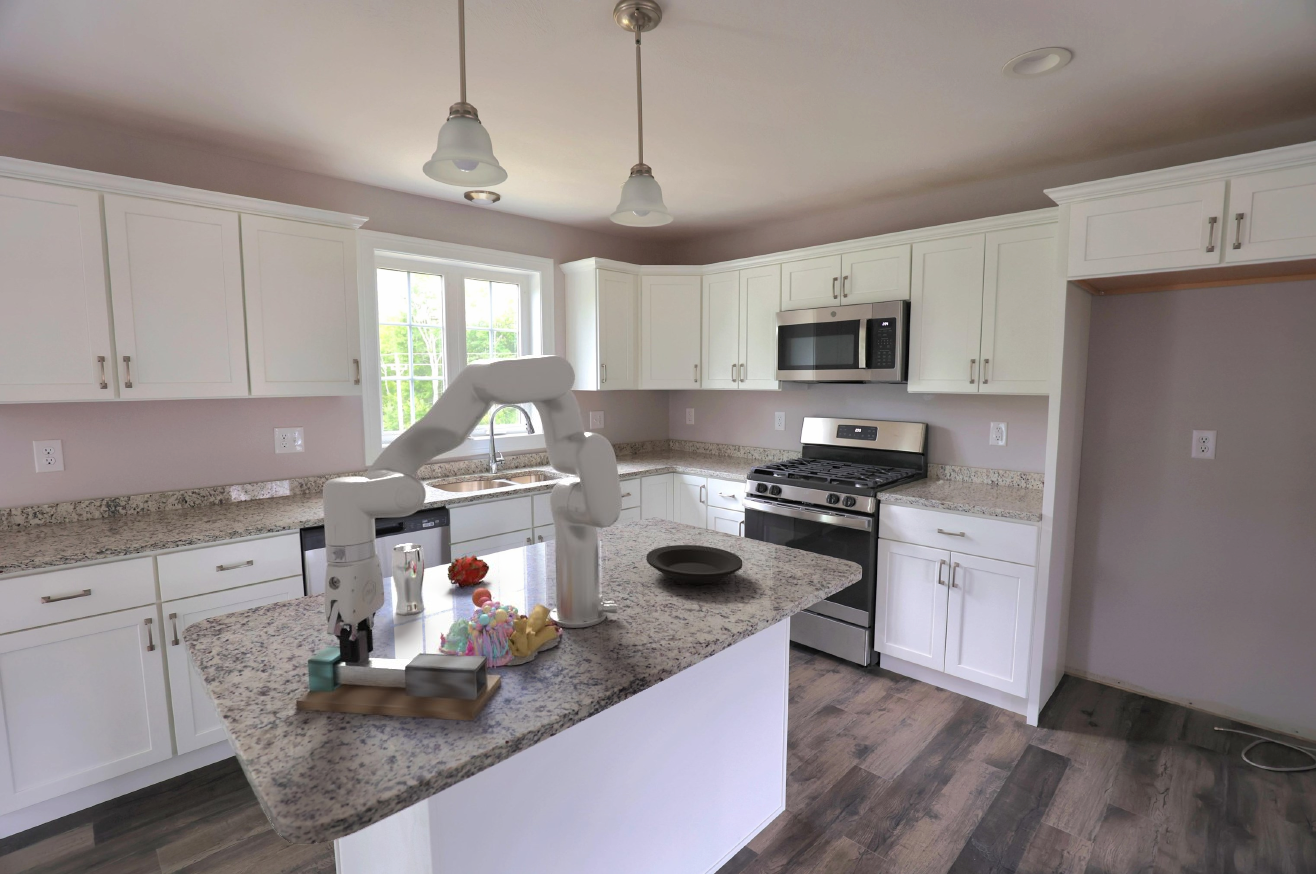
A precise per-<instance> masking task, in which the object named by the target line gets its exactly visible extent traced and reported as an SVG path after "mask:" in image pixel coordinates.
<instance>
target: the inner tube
mask: <svg viewBox="0 0 1316 874" xmlns="http://www.w3.org/2000/svg"><path fill="white" fill-rule="evenodd" d="M356 638H359V649H360V661H359V662H357V663H351V662H341V660H340V658H339V659H338V660H337V661H335V662H334V663H332V664H333V681H334V683H338V684H354V685H371V686H388V687H405V688H406V686H405V666H406V665H407V664H408V663H409V662H410V661H412V660H413V659H410V660H409V659H397V658H396V659H394V658H379V657H378V658H376V657H370V653H369V647H368V630H356Z"/></svg>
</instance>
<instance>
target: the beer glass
mask: <svg viewBox="0 0 1316 874" xmlns="http://www.w3.org/2000/svg"><path fill="white" fill-rule="evenodd" d="M391 572H392V573H391V574H392V578H393V582H394V586H395V587H394V588H395V591H396V597H397V598H396V600H397V601H396V607H395V608H396V609H395V612H396V614H397V615H400V616H411V615H412V616H413V615H417V614H419V613H421V612H423V611H424V610H425V605H424V602H423V600H424V599H423V595H422V593H423V592H422V591H423V584H424V575H425V574H424V573H425V555H424V548H423V545H422V544H420V543H405V544H399V545H396V546H394V547H392V548H391Z"/></svg>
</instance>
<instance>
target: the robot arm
mask: <svg viewBox="0 0 1316 874" xmlns="http://www.w3.org/2000/svg"><path fill="white" fill-rule="evenodd" d="M575 377H576V374H575V370H574V367H573V365H572V364H571V362H569V361H568V359H566V358H565V357H563V356H561V355H554V354H551V355H549V354H548V355H547V354H546V355H525V356H520V357H516V358H492V359H491V358H490V359H489V358H487V359H478V360H476V359H475V360H473V361H471V362H469V363H467V364H466V365H465V366H464V367H463V368H462V369H461V370H460V371H459V373H457V375H456V377H455V378H454V379H453V381H452V382H451V383H450V384H449V385H448V386H447V388H446V389H445V390H444V392H443V393H442V394H441V395H440V396H439V398H438V399H437V400H436V402H435V403H434V404H433V405H432V406H431V407H430V409H428V411H427V412H426V413H425V414H424V415H423V417H422V418H420V419H418V421H416V422H415V423H413V424H412V425H410V427H409V428H407V429H406V430H405V431H403V433H401V434H400V435H399V436H397V437H396V438H395V439H394V440H393V441H392V442H391V443H389V444H388V445H387V446H386V447H385V449H384V450H383V451H382V452H381V453H380V455H378V457H377V458H376V459H375V460H374V461H373V463H372V465H370V466H369V468H368V469H367V470H366V472H365V473H364V475H363V476H342V477H341V476H340V477H336V478H332V479H329V480H327V481H326V482H324V484H323V487H322V503H323V504H322V507H323V522H324V523H323V524H324V525H323V526H324V540H325V541H324V542H325V557H326V558H325V559H326V560H325V561H326V564H327V565H326V571H325V580H324V611H325V619H326V622H327V627H326V628H327V629H326V634H327V635H332V636H335V637H336V640H337V641H339V643H338V644H339V647H340V660H341V662H351V663H357V662H359V661H360V649H359V638H356V630H368V647H369V654H370V653H372V652H374V639H373V638H374V637H373V628H374V625H375V621H374V618H375V616H376V613H377V611H379V610H380V609H381V608H382V607H383V606H384V605H385V591H384V587H385V586H384V579H383V573H382V566H381V561H380V557H379V555H378V553H377V545H376V544H377V541H376V523H375V522H376V519H377V518H378V519H380V518H403V517H408V516H411V515H413V514H415V513H417V512H418V511H419V510H420V509H421V508H422V506H424V503H425V500H426V498H427V497H426V496H427V493H426V488H425V486H424V484H423V482H421V480H420V479H418V477H416V476H415V474H417V472H418V471H419V470H421V468H422V467H424V466H425V465H426V464H427V463H428V462H430V461H431V460H432V459H435V458H437V457H438V456H440V455H442V454H446V453H447V452H451V451H452V450H454V449H458V448H459V447H460V446H462V445H463V444H465V442H466V441H467V440H468V439H469V437H470V436H471V435H472V433H473V432H474V431H475V429H476V428H477V426H478V425H479V424H480V423H481V421H482V420H483V418H484V417H485V416H486V415H487V413H489V411H490V409H491V408H492V407H493V406H495V405H497V406H498V405H502V406H508V405H509V406H510V405H511V406H512V405H520V404H521V405H522V404H529V403H531V404H532V405H533V406H534V408H535V409H536V411H538V416H539V417H540V420H541V426H542V431H543V436H544V442H545V447H546V452H547V458H548V462H549V464H550V466H551V468H552V469H553V470H554V471H556V472H557V473H560V474H565V475H569V476H573V477H566V478H563V479H561V480H560V481H558V482H557V483H556V484H555V485H554V486H553V488H552V490H551V493H550V495H549V496H550V497H549V506H550V513H551V517H552V518H551V519H552V522H553V529H554V542H555V543H554V544H555V550H554V552H555V592H556V594H555V598H556V603H555V604H556V607H554V608H553V609H552V610H550V612H549V619H551V621H554V622H555V623H557V625H558V626H559V627H560V628H561V627H562V628H567V629H570V628H571V629H581V628H588V627H592V626H595V625H598V624H600V623H601V622H603V621H604V620H605V619H606V617H607V614H608V613H609V614H618V613H619V604H616V601H610V600H609V601H605V599H603V597H604V596H603V593H601V594H600V575H599V574H600V572H599V571H600V569H599V568H600V566H599V565H600V564H599V555H600V554H599V553H600V552H599V549H600V548H599V536H598V530H597V528H600V529H603V528H604V529H605V528H608V527H611V526H613V525H614V524H615V523H616V522H617V521H618V519H619V518H620V515H621V512H622V506H623V497H622V489H621V488H622V487H621V482H620V477H619V476H620V475H619V470H618V464H617V463H618V462H617V458H616V454H615V453H616V452H615V451H614V450H615V449H614V447H613V446H612V444H611V442H610V441H609V440H608V439H607V438H606V437H605V436H603V435H602V434H599V433H597V432H591V431H586V430H585V427H584V422H583V419H582V414H581V409H580V406H579V402H578V399H577V398H576V395H575V394H574V392H573V391H572V388H573V387H574V384H575V379H576V378H575ZM345 626H347V627H348V628H347V627H345Z"/></svg>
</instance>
